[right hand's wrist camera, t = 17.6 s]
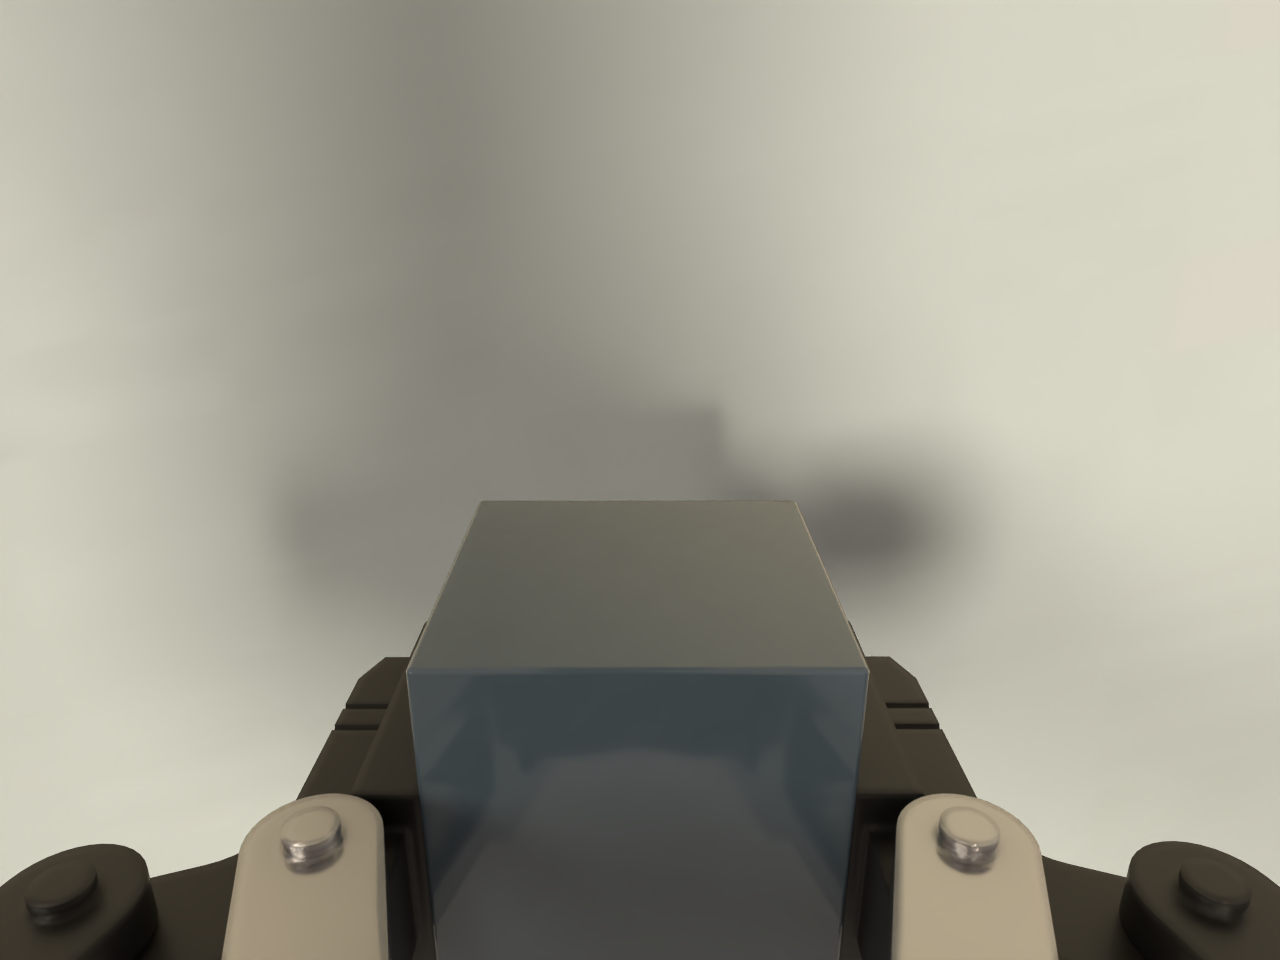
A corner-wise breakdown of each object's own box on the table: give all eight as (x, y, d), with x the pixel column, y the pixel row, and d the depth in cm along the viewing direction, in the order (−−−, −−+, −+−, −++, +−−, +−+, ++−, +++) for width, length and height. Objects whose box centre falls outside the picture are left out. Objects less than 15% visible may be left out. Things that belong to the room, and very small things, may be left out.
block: (499, 810, 14) (445, 1071, 10) (478, 498, 12) (403, 669, 8) (776, 810, 14) (830, 1070, 10) (796, 498, 12) (871, 669, 8)
